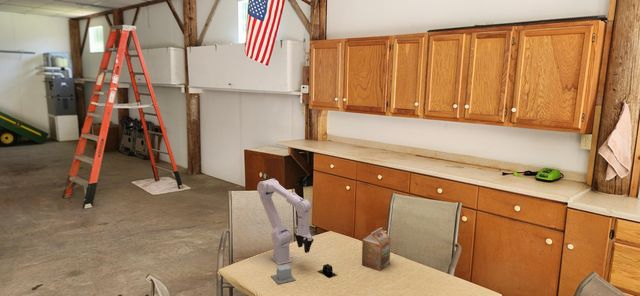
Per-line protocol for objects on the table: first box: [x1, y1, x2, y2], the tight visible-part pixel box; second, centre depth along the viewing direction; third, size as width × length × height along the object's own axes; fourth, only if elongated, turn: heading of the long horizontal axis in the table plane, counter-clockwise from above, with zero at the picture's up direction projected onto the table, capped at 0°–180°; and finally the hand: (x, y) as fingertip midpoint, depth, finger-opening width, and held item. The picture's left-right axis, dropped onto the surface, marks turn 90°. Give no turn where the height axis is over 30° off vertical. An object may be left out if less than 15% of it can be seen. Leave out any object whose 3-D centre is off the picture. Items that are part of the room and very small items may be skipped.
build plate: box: [317, 263, 338, 279], centre depth 214 cm, size 12×7×5 cm, turn 37°
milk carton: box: [361, 226, 392, 272], centre depth 222 cm, size 11×11×19 cm
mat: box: [270, 274, 296, 286], centre depth 207 cm, size 9×9×1 cm
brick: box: [276, 264, 292, 280], centre depth 207 cm, size 4×6×5 cm, turn 119°
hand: (303, 249), depth 218 cm, fingers open, 7 cm apart
